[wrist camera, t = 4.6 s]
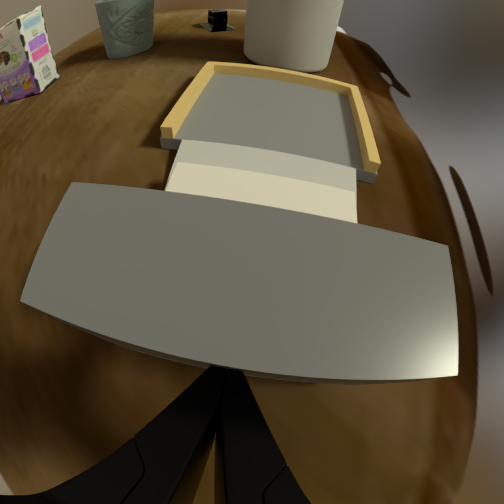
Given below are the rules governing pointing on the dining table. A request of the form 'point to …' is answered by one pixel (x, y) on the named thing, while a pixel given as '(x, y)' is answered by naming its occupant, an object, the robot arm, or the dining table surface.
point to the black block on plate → (217, 21)
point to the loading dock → (273, 125)
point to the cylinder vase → (291, 33)
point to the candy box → (25, 57)
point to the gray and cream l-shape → (248, 279)
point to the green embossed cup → (126, 26)
